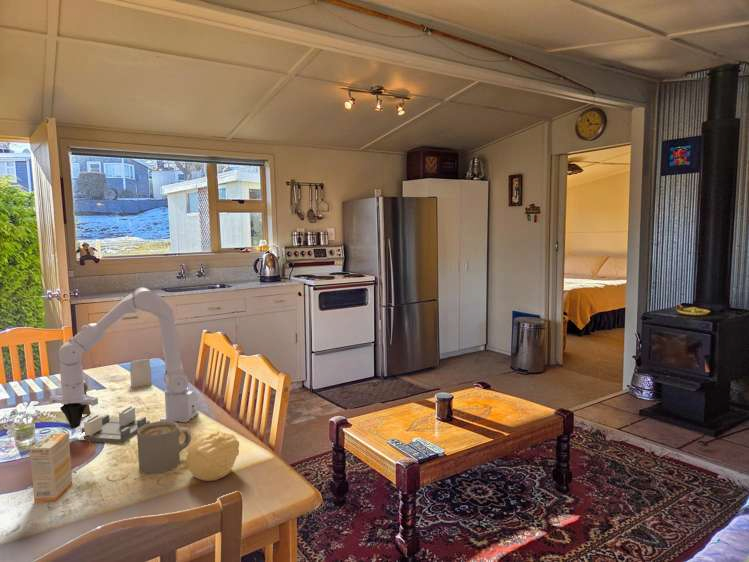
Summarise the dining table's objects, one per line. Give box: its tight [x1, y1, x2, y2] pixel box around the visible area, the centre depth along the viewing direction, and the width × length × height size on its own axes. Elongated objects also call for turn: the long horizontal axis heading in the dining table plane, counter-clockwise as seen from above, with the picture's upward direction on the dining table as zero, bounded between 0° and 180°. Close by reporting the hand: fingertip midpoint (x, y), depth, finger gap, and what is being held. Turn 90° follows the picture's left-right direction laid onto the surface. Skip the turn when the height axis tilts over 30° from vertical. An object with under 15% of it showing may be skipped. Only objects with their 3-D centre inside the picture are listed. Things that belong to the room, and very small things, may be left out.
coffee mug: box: [136, 420, 192, 475], centre depth 133 cm, size 13×10×10 cm
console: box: [80, 414, 151, 444], centre depth 153 cm, size 14×14×3 cm
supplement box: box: [29, 432, 73, 503], centre depth 118 cm, size 8×5×13 cm, turn 5°
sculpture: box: [186, 430, 240, 482], centre depth 127 cm, size 12×12×11 cm
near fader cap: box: [83, 414, 103, 435], centre depth 150 cm, size 2×5×4 cm, turn 172°
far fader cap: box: [118, 406, 137, 426], centre depth 157 cm, size 2×5×4 cm, turn 172°
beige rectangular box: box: [129, 358, 153, 389], centre depth 198 cm, size 4×7×10 cm, turn 128°
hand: (75, 427), depth 151 cm, fingers closed
